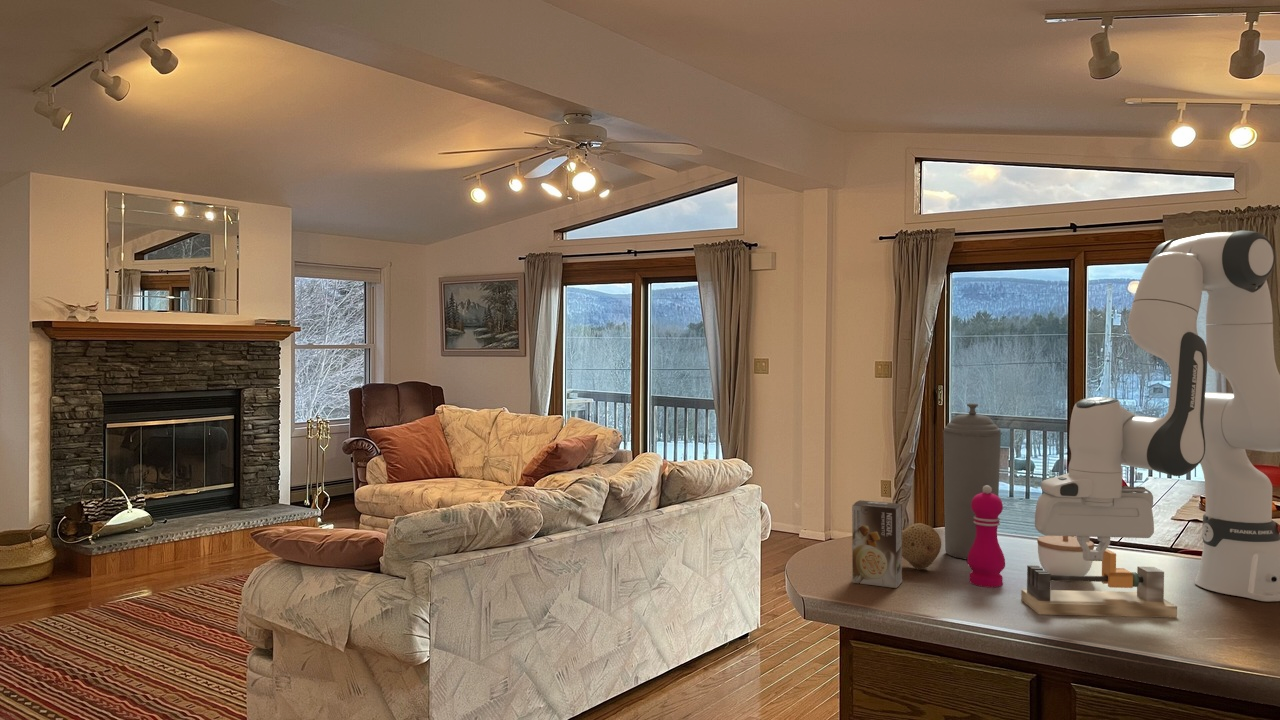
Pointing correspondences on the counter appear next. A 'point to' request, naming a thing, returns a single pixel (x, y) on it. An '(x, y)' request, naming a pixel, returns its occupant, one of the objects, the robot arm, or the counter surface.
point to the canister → (967, 475)
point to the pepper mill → (986, 541)
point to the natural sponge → (920, 545)
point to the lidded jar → (1063, 555)
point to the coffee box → (877, 543)
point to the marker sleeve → (1115, 572)
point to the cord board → (1098, 595)
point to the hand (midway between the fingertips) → (1093, 560)
